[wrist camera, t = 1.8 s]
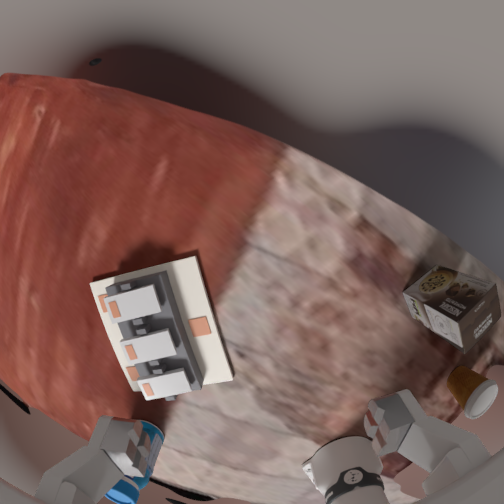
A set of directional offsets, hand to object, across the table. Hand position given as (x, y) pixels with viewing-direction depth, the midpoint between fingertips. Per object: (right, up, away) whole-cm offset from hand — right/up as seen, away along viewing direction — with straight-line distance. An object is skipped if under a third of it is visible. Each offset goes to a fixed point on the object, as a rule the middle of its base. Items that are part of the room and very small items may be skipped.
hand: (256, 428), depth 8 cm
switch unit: (-16, -7, +36) cm, 40 cm away
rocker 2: (-16, -8, +30) cm, 35 cm away
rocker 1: (-17, -1, +29) cm, 34 cm away
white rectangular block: (-14, -15, +31) cm, 37 cm away
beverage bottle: (-23, -33, +40) cm, 56 cm away
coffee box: (+31, -1, +35) cm, 47 cm away
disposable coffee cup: (+47, -23, +38) cm, 64 cm away
